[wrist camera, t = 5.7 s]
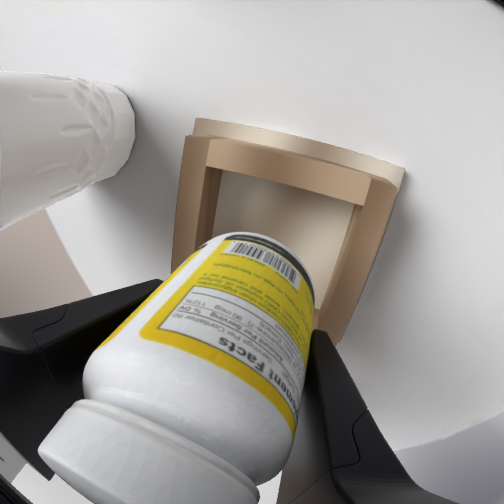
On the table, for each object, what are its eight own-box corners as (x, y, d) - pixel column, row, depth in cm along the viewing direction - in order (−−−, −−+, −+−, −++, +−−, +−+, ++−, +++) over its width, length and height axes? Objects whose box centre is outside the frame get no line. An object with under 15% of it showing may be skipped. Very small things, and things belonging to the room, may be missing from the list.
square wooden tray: (402, 167, 13) (419, 176, 10) (339, 336, 18) (338, 370, 15) (200, 118, 15) (173, 116, 12) (179, 288, 20) (157, 313, 17)
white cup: (52, 150, 18) (-56, 181, 9) (92, 59, 15) (-31, 52, 6) (111, 210, 19) (-6, 272, 10) (167, 111, 15) (18, 114, 6)
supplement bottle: (215, 347, 12) (116, 520, 5) (170, 245, 11) (-13, 406, 3) (328, 335, 10) (290, 569, 3) (297, 213, 9) (162, 507, 2)
